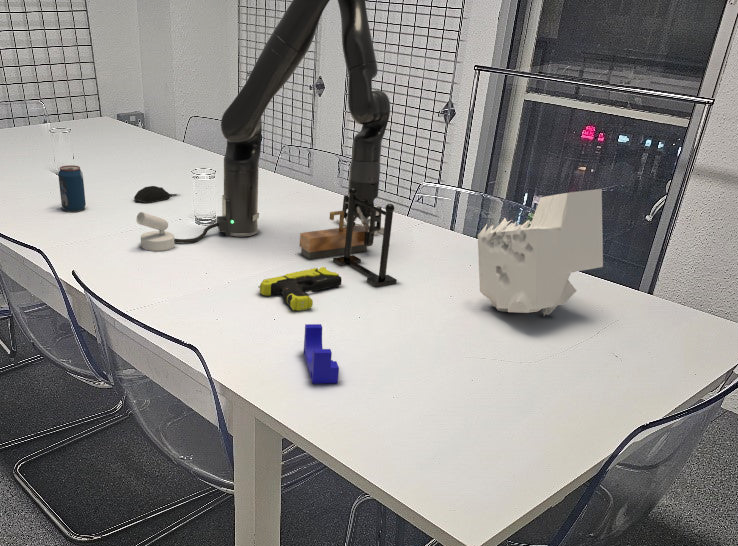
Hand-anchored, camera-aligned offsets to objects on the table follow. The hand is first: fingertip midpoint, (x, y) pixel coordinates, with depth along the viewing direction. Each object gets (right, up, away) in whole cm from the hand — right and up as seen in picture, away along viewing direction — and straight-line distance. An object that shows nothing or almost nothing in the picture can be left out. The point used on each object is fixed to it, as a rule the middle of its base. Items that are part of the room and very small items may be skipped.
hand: (359, 241), depth 194 cm
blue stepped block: (-15, -37, -58) cm, 70 cm away
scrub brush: (-7, -3, -2) cm, 8 cm away
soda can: (-81, +15, +26) cm, 87 cm away
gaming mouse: (-58, +22, +38) cm, 73 cm away
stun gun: (-15, -18, -27) cm, 36 cm away
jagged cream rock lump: (+32, -22, -31) cm, 50 cm away
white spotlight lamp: (-53, -2, -1) cm, 53 cm away
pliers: (+4, +8, +18) cm, 20 cm away
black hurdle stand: (-1, -11, -14) cm, 18 cm away
